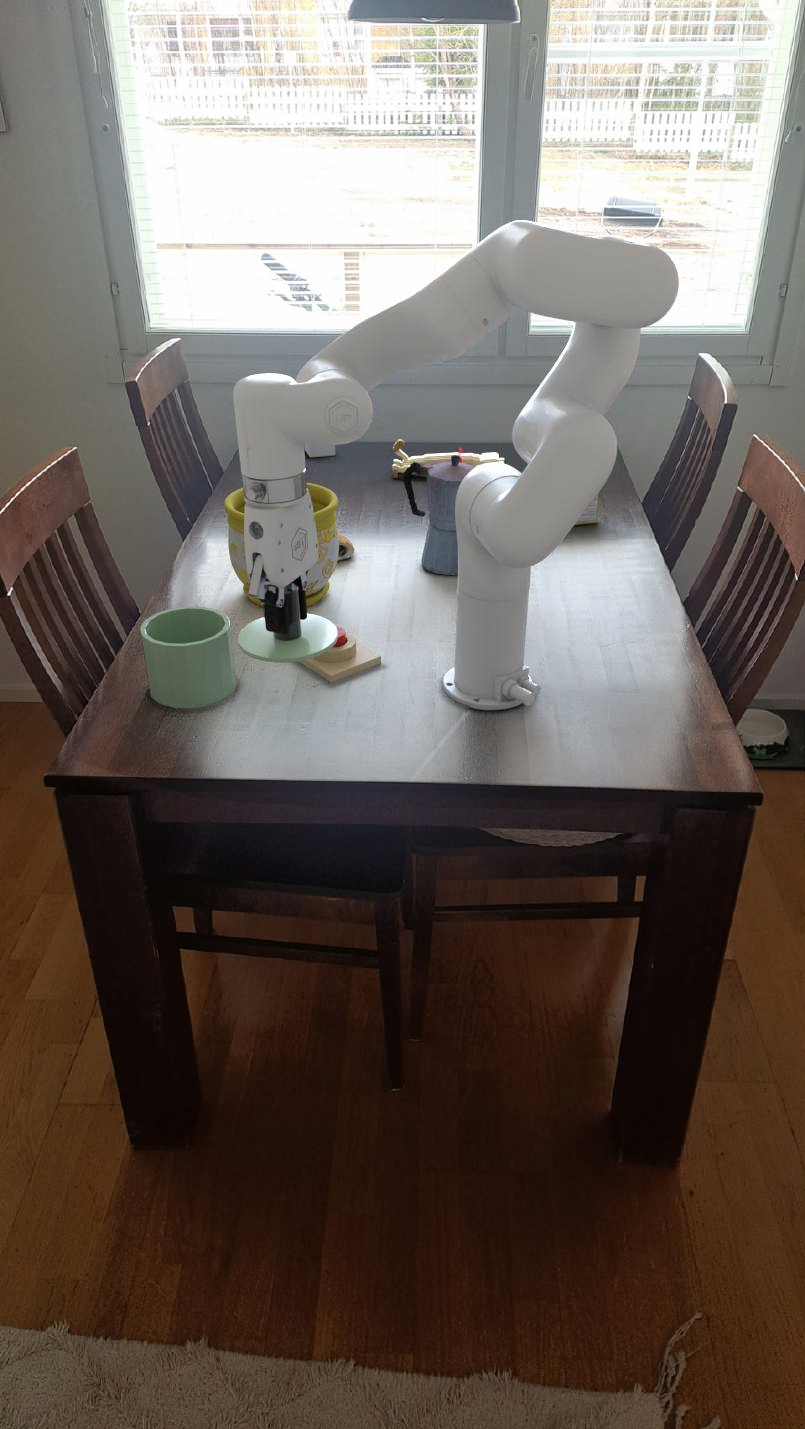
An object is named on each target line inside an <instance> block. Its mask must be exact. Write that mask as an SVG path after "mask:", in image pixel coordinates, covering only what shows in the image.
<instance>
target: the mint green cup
mask: <svg viewBox="0 0 805 1429" xmlns="http://www.w3.org/2000/svg"><path fill="white" fill-rule="evenodd" d="M139 632H140V639H141V645H142V654H143V659H144V665H145V666H144V667H145V673H146V679H147V686H148V691H149V694H150V695H149V696H150V697H151V699H152V700H154V701H155V702H157V703H159V704H160V705H162V706H167V707H170V708H173V709H174V708H175V709H196V708H201V707H207V706H210V705H214V704H216V703H218V702H221V701H223V700H225V699H226V698H227V697H229V696H230V695H231V694H232V693H233V692H234V691H235V688H236V685H237V676H236V665H235V656H234V646H233V645H234V644H233V635H232V624H231V621H230V619H229V617H228V615H227V614H226V613H224V612H222V611H220V610H219V609H216V608H215V609H214V608H210V607H205V606H180V607H172V608H169V609H165V610H162V611H159V612H157V613H154V614H152V615H151V616H149V617H148V618H146V619H145V620H143V622H142V624H141V626H140V628H139Z"/></svg>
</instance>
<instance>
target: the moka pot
mask: <svg viewBox="0 0 805 1429" xmlns="http://www.w3.org/2000/svg"><path fill="white" fill-rule="evenodd" d="M459 460H460V456H458V455H452V456H451V462H452V463H438V464H436V465H433V466H431V465H428V464H423V465H422V464H419V463H417V462H413V464H411V465H410V467H408V468H407V469H406V471H405V472H404V473H402V482H403V485H404V488H405V491H406V495H407V499H408V502H409V506H410V509H411V510H410V511H411V513H412V515H414V516H417V517H422V518H423V517H425V516H426V514H427V513H426V511H424V510H420V509H418V505H417V503H416V497H415V492H414V489H413V484H412V480H411V475H413V474H417V475H418V476H421V477H425V478H426V485H427V504H428V505H427V506H428V511H429V513H428V518H429V523H428V528H427V532H426V536H425V541H424V546H423V549H422V550H423V551H422V555H421V559H420V560H421V566H422V567H423V568H424V569H425V570H427V571H428V572H431V573H434V574H438V575H446V576H458V543H457V532H456V521H455V501H456V495H457V491H458V489H459V486H460V484H461V482H462V480H463V479H464V477H465V476H466V475H467V474H468V473H469V472H470V471H471V470H473V469H474V468H476V467H474V466H471V465H467V464H464V463H459ZM414 472H415V473H414Z"/></svg>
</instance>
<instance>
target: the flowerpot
mask: <svg viewBox="0 0 805 1429" xmlns="http://www.w3.org/2000/svg"><path fill="white" fill-rule="evenodd" d="M306 483H307V489H308V491H309V494H310V497H311V501H312V506H313V511H314V517H315V524H316V531H317V540H318V551H319V557H318V560H317V562H316V563H315V564H314V565H313V566H312V567H311V568H310V569H309V570H308V573H307V576H306V578H307V587H306V589H303V590H305V591H306V605H307V607H309V606H312V605H314V604H316V603H318V602H320V600H321V599H322V598H323V597H324V596H325V595H326V594H327V593H328V591H329V590H330V586H331V584H330V581H329V580H330V579H331V577H332V576H333V574H334V572H335V569H336V568H337V564H338V554H339V539H338V535H339V532H338V526H337V518H338V515H337V512H336V511H337V509H338V506H339V498H338V496H337V494H336V493H335V492H333V491H332V490H331V489H329V488H327V487H325V486H322V485H319V484H315V483H310V482H306ZM245 504H246V502H245V501H244V494H243V487H241V488H238V489H236V490H234V491H233V492H231V493H230V494H228V495H227V497H225V499H224V501H223V509H224V512H225V513H226V514H227V520H226V521H227V524H228V535H227V542H228V544H227V545H228V555H229V560H230V563H231V566H232V568H233V571H234V573H235V574H236V576H237V578H238V579H239V581H240V582H241V583H242V584H243V585H242V591H243V593H244V595H245V596H246V597H247V598H249V599H250V600H251V601H252V602H253V603H254V604H256V605H258V606H260V607H263V608H264V605H263V604H261V602H260V600H259V599H258V598H255V597H252V596H249V587H250V583H251V581H250V579H249V577H248V573H247V567H246V558H245V544H244V513H245ZM270 587H271V586H269V588H270Z"/></svg>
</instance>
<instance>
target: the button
mask: <svg viewBox="0 0 805 1429" xmlns="http://www.w3.org/2000/svg"><path fill="white" fill-rule="evenodd" d="M336 628H337V631H338V639H337V642H336V643H335V645H334V646H333V647H340V646H343V645H345V643H346V637H345V632H346V630H345V629H343V628H342V627H338V626H336ZM333 647H332V648H333Z"/></svg>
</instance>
